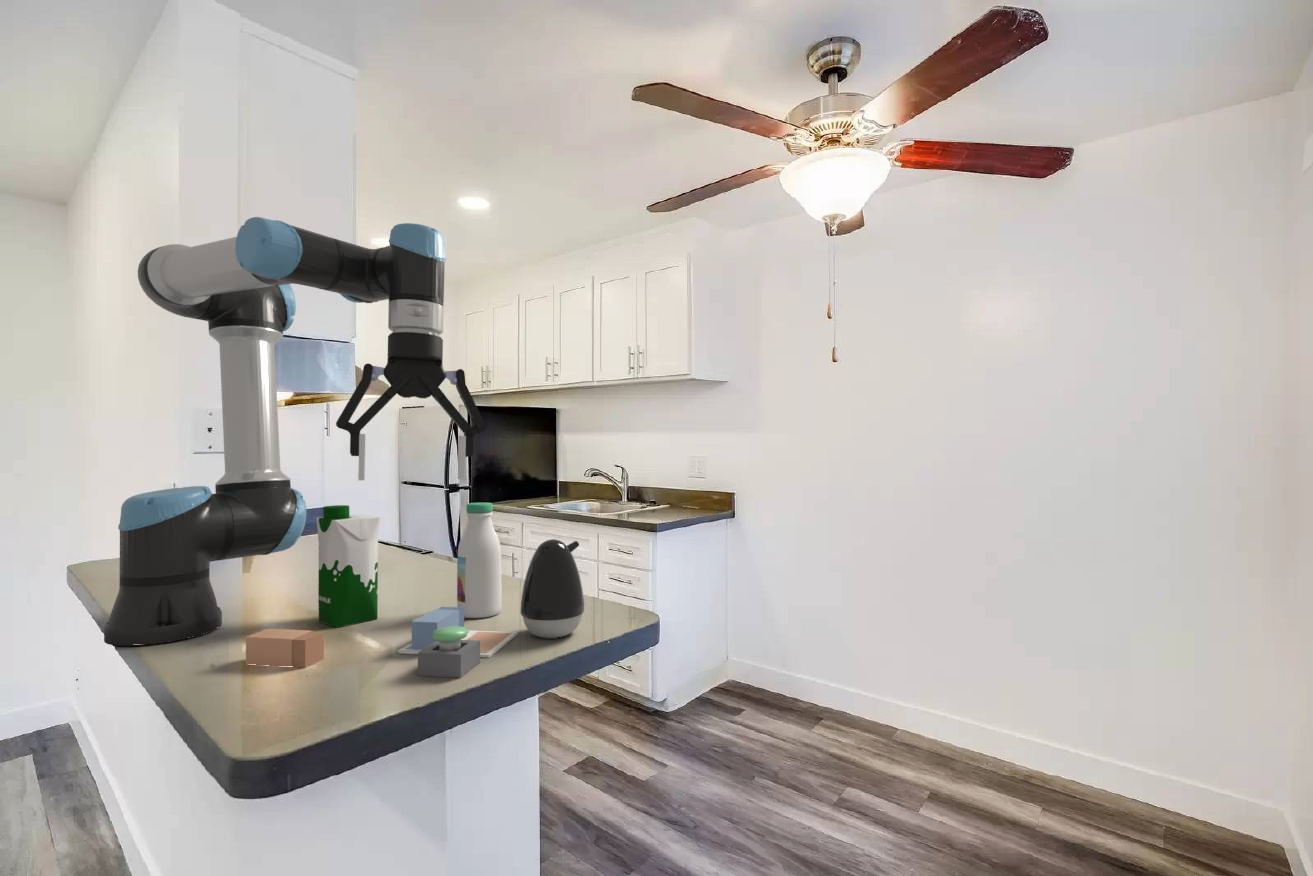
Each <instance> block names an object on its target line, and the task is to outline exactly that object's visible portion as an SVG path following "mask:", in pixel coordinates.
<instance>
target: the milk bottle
mask: <svg viewBox="0 0 1313 876" xmlns="http://www.w3.org/2000/svg"><path fill="white" fill-rule="evenodd" d="M465 509H466V517H467V522H466V526H465V528H464V529H465V530H464V531H463V534H462V536H461V538H460V540H459V543H458V548H457V565H456V566H457V568H456V569H457V573H456V575H457V576H456V579H457V581H456V591H457V592H456V594H457V595H456V600H457V601H456V602H457V603H456V607H462V608H464V619H465V618H466V619H481V618H482V619H483V618H490V617H492V616H493V617H494V616H497V615H499V614H500V613H501V611H502V547H501V542H500V538H499V537H498V535H497V532H496V530H495V528H494V525H493V521H492V517H493V509H494V506H493V503H491V502H470V503H469V502H468V503H467V504H466V508H465Z"/></svg>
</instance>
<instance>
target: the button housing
mask: <svg viewBox="0 0 1313 876" xmlns="http://www.w3.org/2000/svg"><path fill="white" fill-rule="evenodd" d="M480 663H481V657H480V641H476V640H461V648H460V649H459V650H458V651H439V641H436V642H434V643H433V644H431V645H429V646H428V647H426V648H425V649H423V650H421V651H420V652H418V654H417V676H419V677H420V676H422V677H437V678H438V677H439V678H441V677H442V678H456V679H457V678H459V679H461V678H463V677H465V675H466V674H467V673H470V671H471V670H473V669H474V668H475V667H476V666H477V665H479V664H480Z"/></svg>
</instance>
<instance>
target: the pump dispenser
mask: <svg viewBox="0 0 1313 876" xmlns="http://www.w3.org/2000/svg"><path fill="white" fill-rule="evenodd" d="M579 545H580V542H578V540H574V541H572V542H571V543H568V545H567V544H565V542H563V541H561V540H559V539H548V540H545V541H543V542H541V544H539V545H538V547H537V548H536V549H535V551H534V553H533V555H532V557H531V559H530V562H529V565H528V568H527V571H526V575H525V578H524V581H523V585H522V591H521V592H522V593H521V599H520V610H519V611H520V615H521V616H522V619H523V622H524V625H525V627H526V628H527V630H528V631H529V632H530V633H531V634H532V635H534V636H535V637H538V638H542V639H559V638H558V637H560V638H564V637H566V636H568V635H570V634H572V633H573V632H574V631H575V630H576V629H577V628H578V626H579V625H580V623H581V621H582V618H583V614H584V613H585V598H584V590H583V589H584V588H583V585H582V581H581V576H580V572H579V569H578V566H577V562H576V561H575V558H574V556H573V552H574V551H575V550H576V549H577V548H578V547H579ZM563 636H564V637H563Z"/></svg>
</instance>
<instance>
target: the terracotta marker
mask: <svg viewBox="0 0 1313 876" xmlns="http://www.w3.org/2000/svg"><path fill="white" fill-rule="evenodd" d="M324 659H325V632H324V631H312V630H309V629H307V630H306V629H305V630H304V629H303V630H301V629H285V628H284V629H282V628H281V629H280V628H265V629H263V630H260V631H258V632H255V633H253V634H250V635H247V636H246V637H245V665H246V664H256V665H269V666H293V667H300V668H299V669H307V668H309V667H310V665H311V666H312V665H315V664H316V663H318V662H320V661H322V660H324ZM308 666H309V667H308ZM293 667H292V668H293ZM302 667H303V668H302ZM306 667H307V668H306Z"/></svg>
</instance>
